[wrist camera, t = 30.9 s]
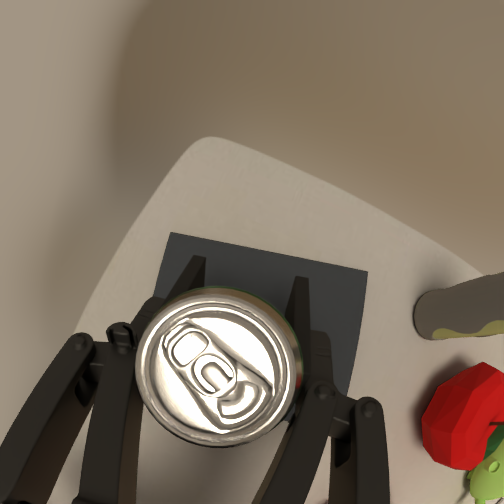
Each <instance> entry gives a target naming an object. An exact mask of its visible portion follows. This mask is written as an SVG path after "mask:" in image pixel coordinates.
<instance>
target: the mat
mask: <svg viewBox="0 0 504 504" xmlns="http://www.w3.org/2000/svg"><path fill="white" fill-rule="evenodd" d="M193 255H198V256H203V257H206V268H205V284H204V287H207V286H226V287H234V288H238V289H241V290H245V291H248V292H250V293H252V294H254V295H257V296H259V297H261V298H262V299H264V300H265V301H267V302H268V303H270V304H271V305H272V306H273V307H275V308H276V309H277V310H278V311H279V312H280V313H281V314H282V315H283V316H284V318H285V310H286V307H287V304H288V300H289V297H290V293H291V290H292V286H293V283H294V279H295V276H301V277H306V278H309V295H310V328H311V330H316V331H322V332H326V333H327V335H328V337H329V338H330V340H331V352H332V356H331V357H332V365H333V381H334V385H335V386H336V387H337V389H338V391H339V392H340V393H341V394H343V395H345V396H347V392H348V388H349V384H350V380H351V375H352V370H353V366H354V361H355V356H356V351H357V345H358V340H359V334H360V328H361V322H362V315H363V308H364V301H365V293H366V285H367V276H368V272H367V271H363V270H358V269H353V268H348V267H343V266H338V265H333V264H328V263H323V262H318V261H313V260H308V259H304V258H299V257H294V256H289V255H284V254H279V253H274V252H269V251H264V250H259V249H254V248H249V247H244V246H239V245H234V244H229V243H224V242H219V241H214V240H209V239H204V238H199V237H194V236H188V235H183V234H178V233H173V232H170V235H169V239H168V242H167V246H166V249H165V253H164V256H163V260H162V263H161V267H160V271H159V275H158V278H157V282H156V286H155V290H154V294H153V296H156V297H159V298H163V299H166V297H167V296H168V294H169V292H170V291H171V289H172V288H173V286H174V284H175V283H176V281H177V280H178V278H179V276H180V275H181V273H182V272H183V270H184V269H185V267H186V265H187V264H188V262H189V261H190V259H191V258H192V256H193ZM294 412H295V404H294V406H293V408H292V409H291V411H290V412H289V413H288V415H287V416H286V417H285V419H284V420H285V421H289V420H290V418H291V416H292V415H293V413H294Z"/></svg>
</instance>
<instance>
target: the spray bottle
mask: <svg viewBox="0 0 504 504" xmlns="http://www.w3.org/2000/svg"><path fill="white" fill-rule="evenodd" d="M414 320H415V325H416V328H417V330H418V332H419V333H420V335H421V336H423V337H424V338H426V339H428V340H444V339H448V338H461V337H486V336H492V335H496V334H503V333H504V272H501V273H498V274H495V275H486V276H483V277H479V278H476V279H473V280H469V281H466V282H463V283H460V284H457V285H455V286H452V287H449V288H445V289H437V290H433V291H429V292H427V293H425V294H424V295H423V296H422V297H421V298H420V299H419V301H418V303H417V305H416V308H415V314H414Z"/></svg>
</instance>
